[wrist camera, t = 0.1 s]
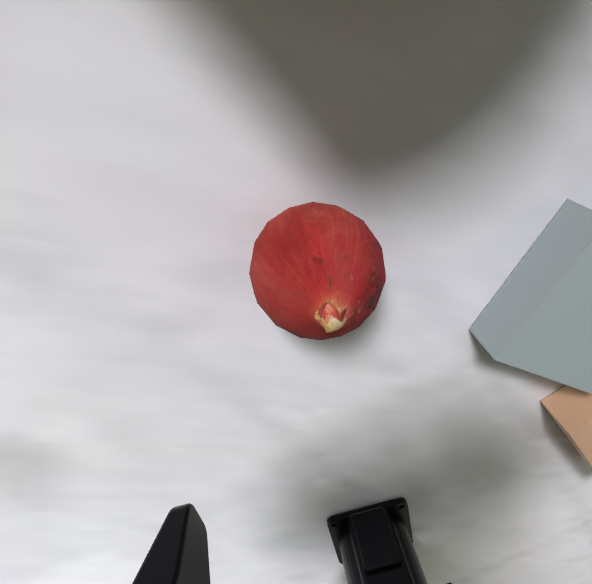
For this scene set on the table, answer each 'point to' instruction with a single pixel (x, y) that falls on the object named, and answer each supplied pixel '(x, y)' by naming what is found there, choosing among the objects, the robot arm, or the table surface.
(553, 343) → the stone slab
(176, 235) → the table surface
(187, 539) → the robot arm
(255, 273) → the onion
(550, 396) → the terracotta slab
